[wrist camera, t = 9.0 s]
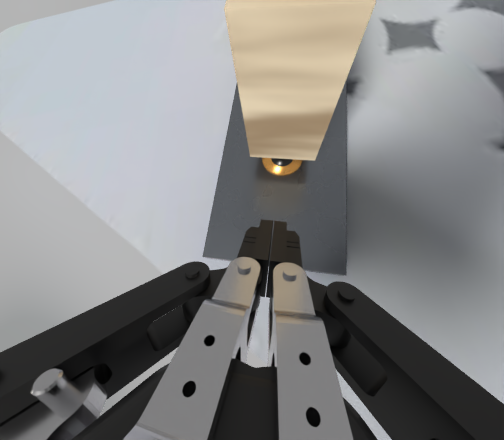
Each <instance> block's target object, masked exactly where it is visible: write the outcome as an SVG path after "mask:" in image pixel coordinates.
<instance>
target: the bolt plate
mask: <svg viewBox="0 0 504 440" xmlns="http://www.w3.org/2000/svg"><path fill="white" fill-rule="evenodd" d="M261 219H263V220H272V221H273V228H274V221H282V222H287V230H288V231H295V232H296V233H297V234H298V236H299V238H300V249H301V258H302V268H303V270H304V271H311V272H318V273H326V274H334V275H346V81H345V84H344V87H343V89H342V92H341V94H340V97H339V100H338V102H337V105H336V107H335V110H334V113H333V115H332V118H331V120H330V123H329V126H328V128H327V131H326V133H325V136H324V138H323V141H322V144H321V146H320V149H319V151H318V154H317V157H316V159H315V161H313V160H296V159H279V158H262V157H250V153H249V147H248V141H247V136H246V130H245V124H244V118H243V113H242V107H241V101H240V96H239V90H238V84H237V85H236V90H235V95H234V100H233V105H232V111H231V116H230V121H229V126H228V131H227V136H226V141H225V146H224V151H223V156H222V161H221V166H220V171H219V176H218V182H217V187H216V192H215V197H214V202H213V207H212V212H211V217H210V222H209V227H208V232H207V237H206V242H205V247H204V252H203V257H206V258H211V259H219V260H227V261H233V260H234V259H236V258H237V256H238V253H239V250H240V247H241V244H242V242H243V239H244V236H245V233H246V231H247V230H248V229H249V228H250V227H259V226H260V222H261ZM272 237H273V230H272ZM271 245H272V240H271ZM270 254H271V250H270ZM269 262H270V258H269Z"/></svg>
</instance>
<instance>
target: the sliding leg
mask: <svg viewBox="0 0 504 440" xmlns="http://www.w3.org/2000/svg"><path fill="white" fill-rule="evenodd" d="M375 4H376V0H226V4H225V8H224V10H225V16H226V21H227V27H228V33H229V38H230V44H231V50H232V56H233V61H234V67H235V73H236V78H237V84H238V90H239V96H240V101H241V107H242V113H243V118H244V124H245V130H246V136H247V141H248V147H249V153H250V157H262V158H279V159H296V160H313V161H315V159H316V157H317V154H318V151H319V149H320V146H321V144H322V141H323V138H324V136H325V133H326V131H327V128H328V126H329V123H330V120H331V118H332V115H333V113H334V110H335V107H336V105H337V102H338V100H339V97H340V94H341V92H342V89H343V87H344V84H345V81H346V79H347V76H348V74H349V71H350V68H351V66H352V63H353V61H354V58H355V55H356V53H357V50H358V48H359V45H360V43H361V40H362V37H363V35H364V32H365V30H366V27H367V24H368V22H369V19H370V17H371V14H372V11H373V9H374V6H375Z"/></svg>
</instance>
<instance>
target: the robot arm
mask: <svg viewBox="0 0 504 440" xmlns="http://www.w3.org/2000/svg"><path fill="white" fill-rule="evenodd" d="M272 230H273V237H272ZM271 240H272V245H271ZM270 250H271V254H270ZM269 258H270V262H269ZM268 266H269V273H268ZM267 274H268V283H267ZM266 283H267V293H266V297H269V298H270V305H269V318H268V366H267V367H260V368H254V367H251V366H249V365H248V364H246V360H247V354H248V349H249V345H250V340H251V336H252V332H253V328H254V324H255V319H256V315H257V310H258V306H259V303H260V296H262V297H265V291H266ZM178 306H179V307H178ZM173 309H174V310H173ZM168 312H169V313H168ZM165 314H166V315H165ZM163 315H164V316H163ZM160 317H161V318H160ZM158 318H159V319H158ZM155 320H156V321H155ZM177 347H178V349H177V351H176V353H175V355H174V357H173V358H172V360H171V362H170V363H169V364H167V365H166V366H164V367H162V368H161V369H159V370H158V371H156V372H155V373H153V374H152V375H151V376H150V377H149V378H147V379H146V380H145V381H143V382H142V383H141V384H140V385H139V386H138V387H136V388H135V389H134V390H132V391H131V392H130V393H129V394H127V395H126V396H125V397H124V398H122V399H121V400H120V401H119V402H118V403H116V404H115V405H114V406H112V408H110V409H109V410H107V411H106V412H105V413H104V414H102V415H101V416H100V413H101V411H102V409H103V407H104V405H105V402H106V400H107V399H108V398H109V397H111V396H112V395H114V394H115V393H116V392H118V391H119V390H120V389H122V388H123V387H124V386H126V385H127V384H129V382H131V381H133V380H134V379H135V378H137V377H138V376H139V375H141V374H142V373H143V372H145V371H146V370H147V369H149V368H150V367H152V366H153V365H154V364H156V363H157V362H158V361H160V360H161V359H162V358H164V357H165V356H166V355H168V354H169V353H170V352H172V351H173V350H174V349H176V348H177ZM335 368H336V369H335ZM336 370H337V371H338V372H339V373H340V375H341V376H342V377H343V378H344V380H345V381H346V382H347V383H348V385H349V386H350V387H351V388H352V390H353V391H354V392H355V394H356V395H357V396H358V397H359V399H360V400H361V401H362V402H363V404H364V405H365V406H366V407H367V409H368V410H369V411H370V412H371V414H372V415H373V416H374V418H375V419H376V420H377V421H378V423H379V424H380V425H381V426H382V428H383V429H384V430H385V431H386V433H387V434H388V435H389V436H390V438H391V439H392V440H504V404H503V403H502V402H500V401H499V400H498V399H496V398H495V397H494V396H493V395H491V394H490V393H489V392H488V391H486V390H485V389H484V388H483V387H481V386H480V385H479V384H477V383H476V382H475V381H474V380H472V379H471V378H470V377H469V376H467V375H466V374H465V373H464V372H462V371H461V370H460V369H458V368H457V367H456V366H455V365H453V364H452V363H451V362H450V361H448V360H447V359H446V358H445V357H443V356H442V355H441V354H440V353H438V352H437V351H436V350H434V349H433V348H432V347H431V346H429V345H428V344H427V343H426V342H424V341H423V340H422V339H421V338H419V337H418V336H417V335H415V334H414V333H413V332H412V331H410V330H409V329H408V328H407V327H405V326H404V325H403V324H402V323H400V322H399V321H398V320H396V319H395V318H394V317H393V316H391V315H390V314H389V313H388V312H386V311H385V310H384V309H383V308H381V307H380V306H379V305H377V304H376V303H375V302H374V301H372V300H371V299H370V298H369V297H367V296H366V295H365V294H364V293H362V292H361V291H360V290H358V289H357V288H356V287H354V286H352V285H350V284H348V283H345V282H333V283H331V284H329V285H328V287H327V286H324V285H322V284H319V283H317V282H315V281H313V280H311V279H310V278H309V277H308V276H307V275H306V273H305V271H304V270H303V268H302V258H301V249H300V238H299V236H298V234H297V233H296V232H295V231H288V230H287V222H282V221H274V228H273V221H272V220H263V219H261V222H260V226H259V227H250V228H249V229H248V230H247V231H246V233H245V236H244V239H243V242H242V244H241V247H240V250H239V253H238V256H237V258H236V259H234V260H233V261H232V262H231V263H230V264H229V266H228V267H227V268H224V269H219V270H209V267H208V266H207V265H206V264H205V263H202V262H190V263H187V264H184V265H182V266H180V267H178V268H176V269H174V270H172V271H170V272H168V273H166V274H163V275H161V276H159V277H157V278H155V279H153V280H151V281H149V282H147V283H145V284H143V285H140V286H139V287H136V288H134V289H132V290H130V291H128V292H126V293H124V294H122V295H120V296H117V297H116V298H113V299H111V300H109V301H107V302H105V303H103V304H101V305H99V306H97V307H94V308H93V309H90V310H88V311H86V312H84V313H82V314H80V315H78V316H76V317H74V318H72V319H69V320H67V321H65V322H63V323H61V324H59V325H57V326H55V327H53V328H51V329H49V330H46V331H44V332H42V333H40V334H38V335H36V336H34V337H32V338H30V339H28V340H26V341H23V342H21V343H19V344H17V345H15V346H13V347H11V348H9V349H7V350H5V351H3V352H0V440H377V438H376V437H375V435H374V434H373V433H372V431H371V430H370V428H369V427H368V426H367V424H366V423H365V421H364V420H363V419H362V417H361V416H360V415H359V414H358V413H357V411H356V410H355V409H354V408H353V407H352V406H351V405H350V404H349V403H348V402H347V401H346V400H345V399H344V398H343V397H342V393H341V389H340V385H339V381H338V377H337V373H336Z"/></svg>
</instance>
